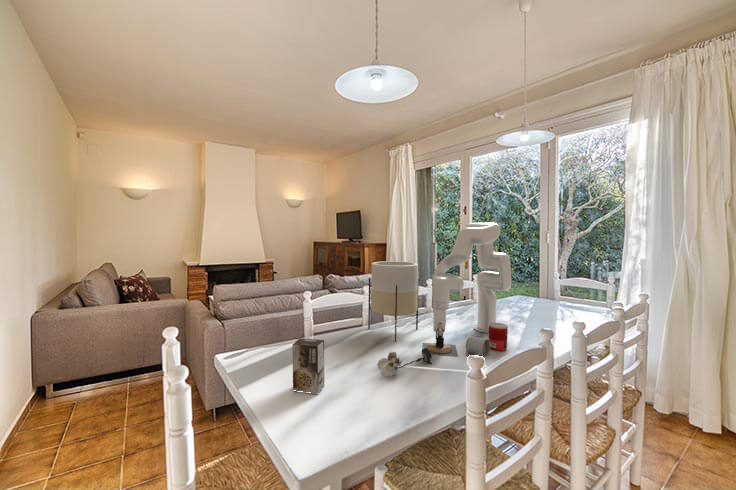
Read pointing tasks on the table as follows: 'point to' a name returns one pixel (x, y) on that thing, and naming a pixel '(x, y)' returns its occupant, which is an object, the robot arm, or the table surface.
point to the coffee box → (308, 365)
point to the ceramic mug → (477, 346)
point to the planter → (394, 289)
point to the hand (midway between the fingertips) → (439, 343)
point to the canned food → (498, 336)
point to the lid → (439, 349)
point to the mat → (452, 354)
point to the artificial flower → (393, 362)
